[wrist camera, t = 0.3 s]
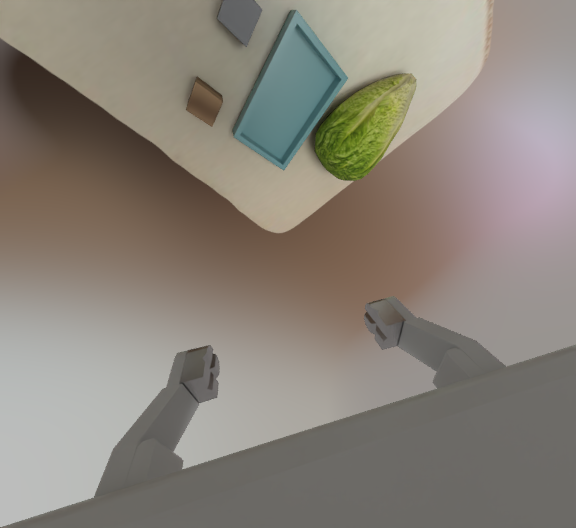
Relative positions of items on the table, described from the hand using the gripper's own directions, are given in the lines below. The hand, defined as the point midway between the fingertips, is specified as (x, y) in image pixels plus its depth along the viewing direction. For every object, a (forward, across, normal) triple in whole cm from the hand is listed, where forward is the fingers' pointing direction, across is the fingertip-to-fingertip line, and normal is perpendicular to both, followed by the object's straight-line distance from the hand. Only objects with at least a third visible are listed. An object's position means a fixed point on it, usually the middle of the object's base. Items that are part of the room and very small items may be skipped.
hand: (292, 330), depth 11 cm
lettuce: (+51, -29, -8) cm, 59 cm away
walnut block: (+49, +5, -16) cm, 51 cm away
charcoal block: (+45, -4, -26) cm, 52 cm away
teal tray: (+49, -11, -13) cm, 52 cm away
